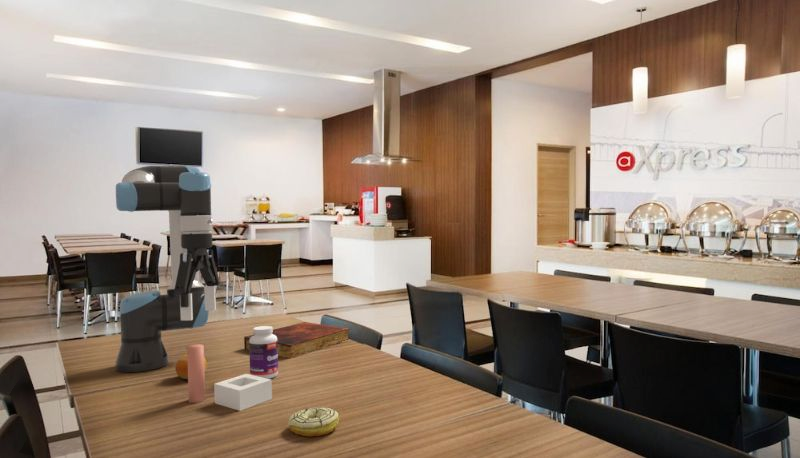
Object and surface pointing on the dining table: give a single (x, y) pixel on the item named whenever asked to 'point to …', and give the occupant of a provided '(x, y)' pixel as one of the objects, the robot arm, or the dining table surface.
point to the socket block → (243, 391)
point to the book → (305, 338)
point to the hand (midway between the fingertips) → (199, 315)
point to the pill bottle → (263, 352)
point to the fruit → (185, 367)
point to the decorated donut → (314, 421)
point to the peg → (196, 373)
